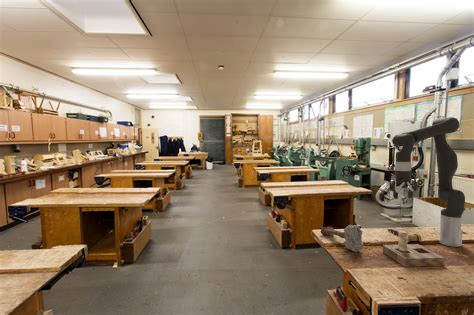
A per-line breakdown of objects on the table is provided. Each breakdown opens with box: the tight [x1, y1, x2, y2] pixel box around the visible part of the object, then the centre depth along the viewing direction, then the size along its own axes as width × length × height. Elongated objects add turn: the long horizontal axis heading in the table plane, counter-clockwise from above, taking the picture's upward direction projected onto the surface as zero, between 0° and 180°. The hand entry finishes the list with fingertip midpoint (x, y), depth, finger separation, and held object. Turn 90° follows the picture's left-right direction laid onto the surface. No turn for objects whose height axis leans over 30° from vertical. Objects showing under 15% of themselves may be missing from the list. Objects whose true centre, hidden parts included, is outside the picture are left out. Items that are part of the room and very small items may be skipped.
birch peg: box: [397, 230, 409, 253], centre depth 123 cm, size 4×4×14 cm
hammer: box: [320, 224, 364, 253], centre depth 143 cm, size 15×10×30 cm
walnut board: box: [382, 243, 445, 268], centre depth 123 cm, size 20×16×4 cm
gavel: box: [387, 228, 422, 243], centre depth 154 cm, size 21×5×10 cm
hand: (402, 198), depth 133 cm, fingers open, 8 cm apart
